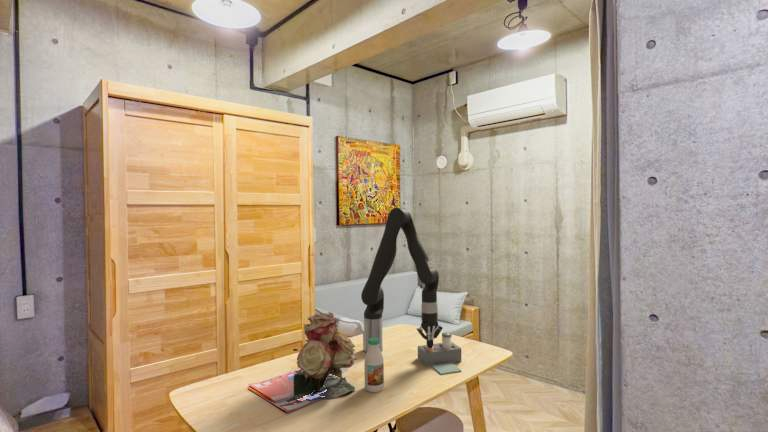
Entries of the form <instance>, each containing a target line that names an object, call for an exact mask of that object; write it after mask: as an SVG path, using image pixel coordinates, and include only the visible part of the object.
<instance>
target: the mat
mask: <svg viewBox="0 0 768 432" xmlns="http://www.w3.org/2000/svg"><path fill="white" fill-rule="evenodd" d="M431 368H432V369H434V371H436V372H437V373H438V374H439V375H440V376H443V375H448V374H454V373H455V374H456V373H461V372H462V369H461V368H459V367H458V366H457V365H456V364H454V362H452V363H445V364H439V365H432V366H431Z"/></svg>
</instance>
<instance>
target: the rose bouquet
mask: <svg viewBox="0 0 768 432" xmlns="http://www.w3.org/2000/svg"><path fill="white" fill-rule="evenodd" d="M307 320H308V321H309V322H310V324H309V323H304V325H303V331H304V335H305V336H306V338H307V339H305V340H304V341H305V342H306V343H305V344H304V345H302V348H301V349H300V350H299V352H298V355H297V358H296V360H297V362H295V364H297V367H298V368H299V369H300V370H301V371H302V372H301V373H294V374H293V375H294V376H293V395H294V399H295V400H296V401H297V399H300V398H303V396H305V395H309V394H311V393H312V392H313V391H314V390H320V389H321V388H323V387H325V388H324V389H327V391H326V392H324V393H321V394H319V395H320V396H325V397H323V398H322V399H324V400H331V399H335V398H339V397H341V396H342V395H344V394H347V393H349V392H353V393H354V392H356V391H355V390H356V387H355V386H354V385H352V384H350V383H349V382H348V381H347V380H346V378H347V377H343V371H342V370H341V369H347V368H351V367H352V366H354V364H355V363H356V361H355V360H357V359H358V358H357V357H355V355H356V353H355V352H356V349H355V347H356V346H355V343H354V342H353V341H352V340H351V338H348V337H347V336H345V335H342V334H340V335H339V334H337V332H338V331H337V330H338V329H337V327H338V325H337V322H338V319H337V318H336V317H335V314H334V313H333V312H331V311H329V312H327V313H322V314H318V313H317V314H313V315H312V316H308V317H307ZM292 351H294V352H296V351H298V348H293V349H292ZM329 374H332V375H335V376H332V377H329V378H327V377H328V375H329ZM326 378H327V379H326ZM320 387H321V388H320ZM321 390H322V389H321ZM321 390H320V391H321Z"/></svg>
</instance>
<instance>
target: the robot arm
mask: <svg viewBox="0 0 768 432" xmlns="http://www.w3.org/2000/svg"><path fill="white" fill-rule="evenodd" d="M416 229H417V228H416V226H415V223H414V219H413V217H412V213H411V212H410V210H409V209H407V208H405V207H394V208H392V209H391V210H390V211H389V212H388V215H387V218H386V223H385V227H384V231H383V234H382V237H381V240H380V243H379V245H378V248H377V251H376V253H375V257H374V260H373V263H372V267H371V270H370V272H369V276H368V278H367V280H366V282H365V285H364V286H363V289H362V291H361V295H360V296H361V301H362V302H363V304H364V305H366V307H365V309H364V311H363V328H364V329H363V332H362V348H363V349H362V350H363V352H365V355H366V354H367V351H368V348H369V345H368V339H370V338H378V339H379V341H380V343H379V344H380V345H379V349H380V351H381V353H382V352H383V350H384V347H383V313H384V308H385V307H384V306H385V305H384V304H385V302H384V301H385V299H384V298H385V295H384V290H383V288H382V287H381V286H382V284H383V280H384V279H385V278H386V276H387V275H388V273H389V272H390V270H391V268H392V265H393V264H394V261H395V258H396V255H397V240H398V237H399V233H400V231H401V230H402V232H403V233H404V236H405V240H406V244H407V249H408V252H409V254H410V257H411V258H412V261H413V263H414V266H415V270H416V274H417V278H418V279H419V281H420V282H421V283H422V284H424V286H423V288H422V290H421V309H420V310H421V313H420V314H421V324H420V326H419V327H417V328H416V331H417V333H419V335H420V336H421V337H422V338H423V339H424V340H426V345H427V346H428V347H429V348H432V346H433V344H434V340H435V339H437V338H438V336H439V335H440V334H441V333H442V330H443V327H442V326H441V325H439V322H438V319H439V318H438V316H439V315H438V310H439V309H438V297H437V296H438V294H437V293H438V288H439V281H440V275H439V272H438V269H436V268H434V267H429V264H428V262H429V261H430V259H429V257H428V254H427V251H426V250H425V248H424V246H423V244H422V241H421V239H420V238H419V235H418V232H417V230H416ZM423 331H424V332H423Z"/></svg>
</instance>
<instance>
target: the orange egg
mask: <svg viewBox="0 0 768 432" xmlns="http://www.w3.org/2000/svg"><path fill="white" fill-rule="evenodd" d="M425 350H427V351H430V350H434V347H433V346H432V348H429V347H428V346H426V347H425Z"/></svg>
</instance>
